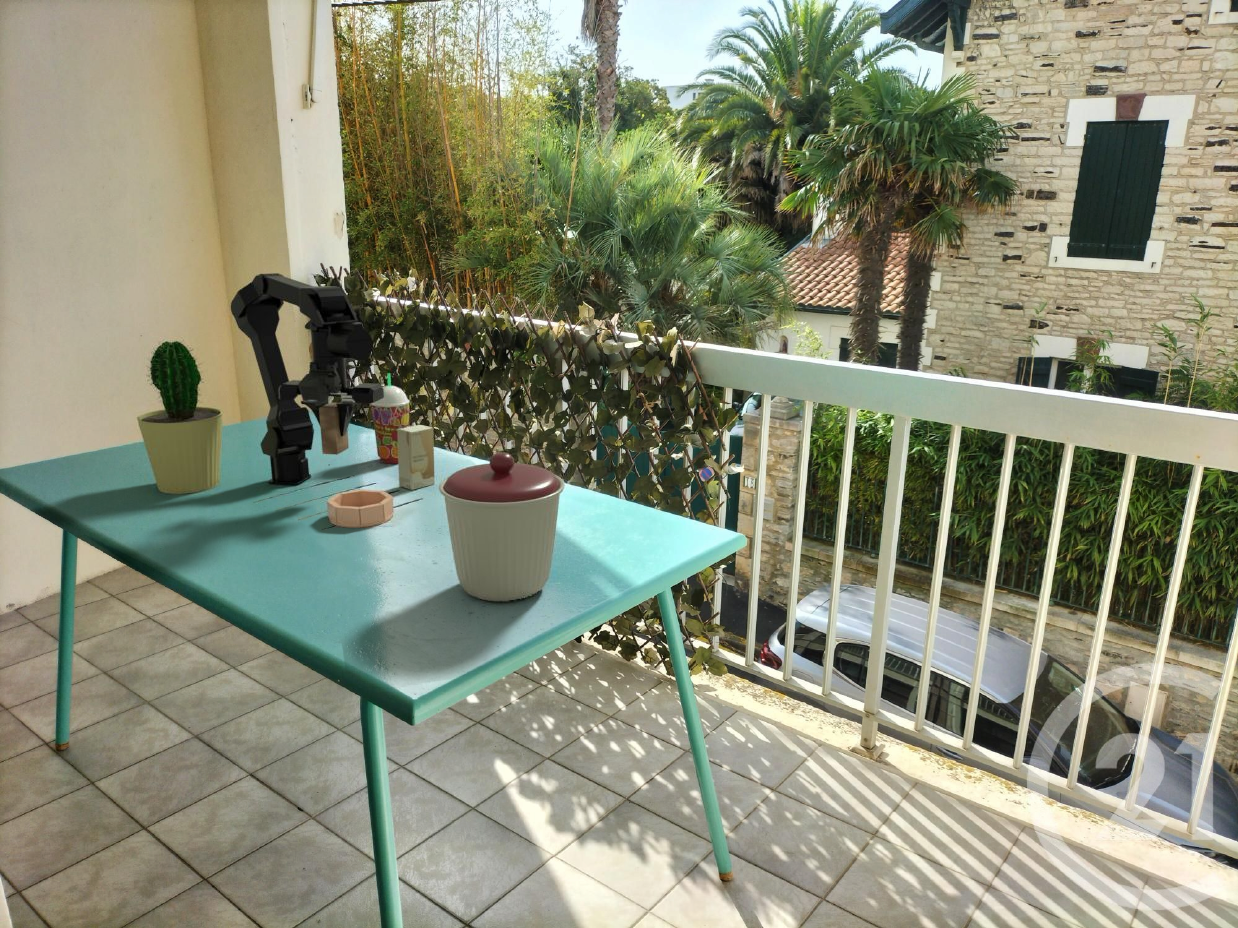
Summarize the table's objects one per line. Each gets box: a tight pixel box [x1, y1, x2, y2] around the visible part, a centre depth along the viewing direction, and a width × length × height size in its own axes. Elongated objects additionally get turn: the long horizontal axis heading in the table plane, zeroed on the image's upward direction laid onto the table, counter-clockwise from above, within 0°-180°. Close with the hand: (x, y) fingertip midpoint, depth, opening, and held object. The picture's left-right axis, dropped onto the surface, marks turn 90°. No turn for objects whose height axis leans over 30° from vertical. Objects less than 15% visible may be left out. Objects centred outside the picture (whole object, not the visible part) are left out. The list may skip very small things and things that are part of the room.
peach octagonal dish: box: [326, 489, 395, 529], centre depth 158 cm, size 11×11×4 cm
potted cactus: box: [136, 340, 224, 495], centre depth 171 cm, size 15×15×30 cm
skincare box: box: [397, 424, 435, 491], centre depth 177 cm, size 6×4×12 cm
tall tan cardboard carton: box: [319, 402, 350, 456], centre depth 165 cm, size 3×5×9 cm, turn 172°
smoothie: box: [370, 372, 410, 464], centre depth 193 cm, size 8×8×20 cm
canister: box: [438, 451, 565, 602], centre depth 127 cm, size 18×18×21 cm
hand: (334, 435), depth 166 cm, fingers closed on tall tan cardboard carton, 3 cm apart
